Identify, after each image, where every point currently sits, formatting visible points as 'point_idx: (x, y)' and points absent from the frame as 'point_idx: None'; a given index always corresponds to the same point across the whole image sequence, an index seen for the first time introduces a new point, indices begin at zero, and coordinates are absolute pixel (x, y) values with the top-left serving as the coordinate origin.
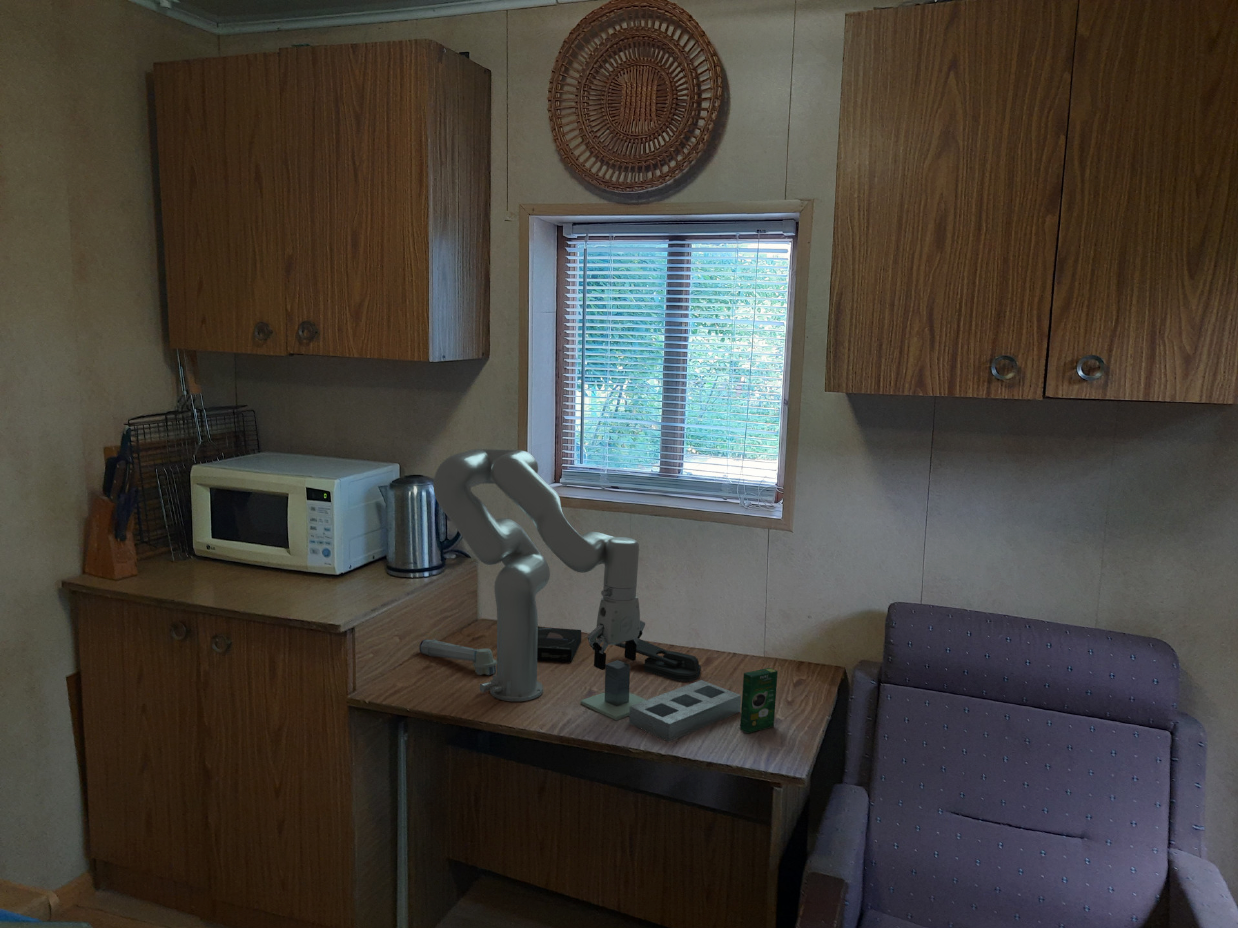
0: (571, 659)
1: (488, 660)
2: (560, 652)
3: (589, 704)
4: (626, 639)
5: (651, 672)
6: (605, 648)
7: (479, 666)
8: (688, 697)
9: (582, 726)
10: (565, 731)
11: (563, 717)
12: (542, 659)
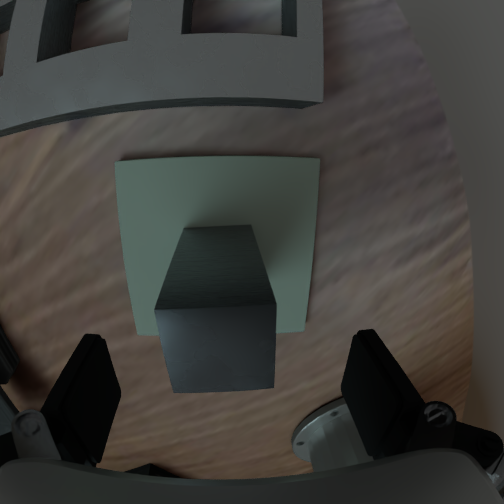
0: (148, 469)
1: None
2: None
3: (307, 295)
4: (209, 501)
5: (8, 343)
6: (421, 433)
7: None
8: (43, 48)
9: (414, 202)
10: (454, 212)
11: (401, 281)
12: None
